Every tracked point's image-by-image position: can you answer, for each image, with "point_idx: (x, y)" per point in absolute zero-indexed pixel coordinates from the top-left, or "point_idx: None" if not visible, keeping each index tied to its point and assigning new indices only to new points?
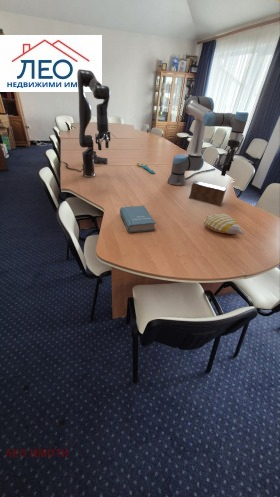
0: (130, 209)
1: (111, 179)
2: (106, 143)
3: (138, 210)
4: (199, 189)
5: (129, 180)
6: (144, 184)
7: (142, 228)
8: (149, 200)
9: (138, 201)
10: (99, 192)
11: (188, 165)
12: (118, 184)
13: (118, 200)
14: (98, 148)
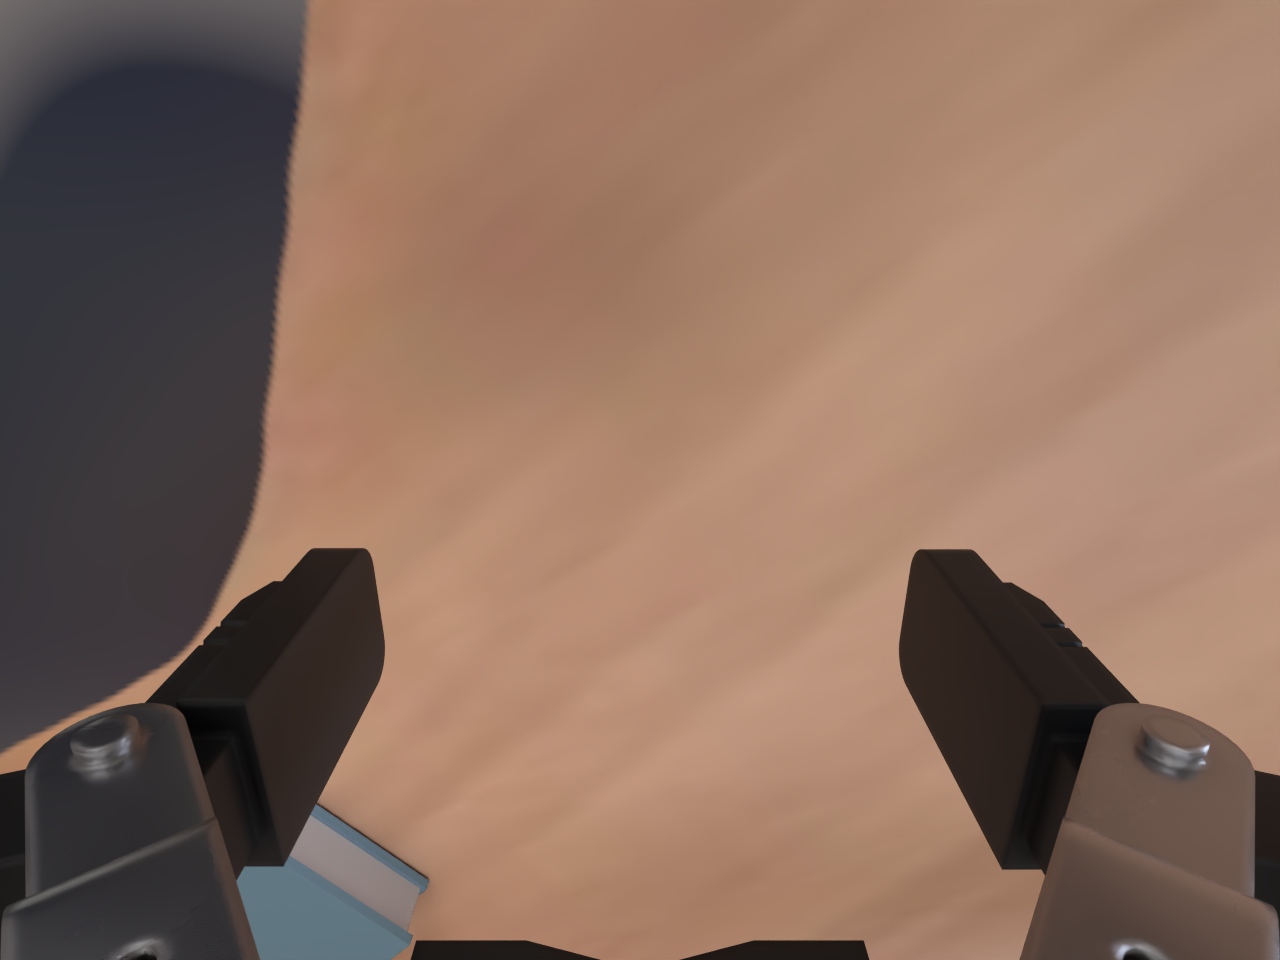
0: (249, 895)
1: (1164, 68)
2: (996, 737)
3: (287, 948)
4: None
5: (1238, 359)
6: (1155, 603)
7: None
8: (707, 823)
9: (616, 757)
10: (547, 260)
11: None
12: (986, 311)
13: (499, 592)
14: (243, 624)
